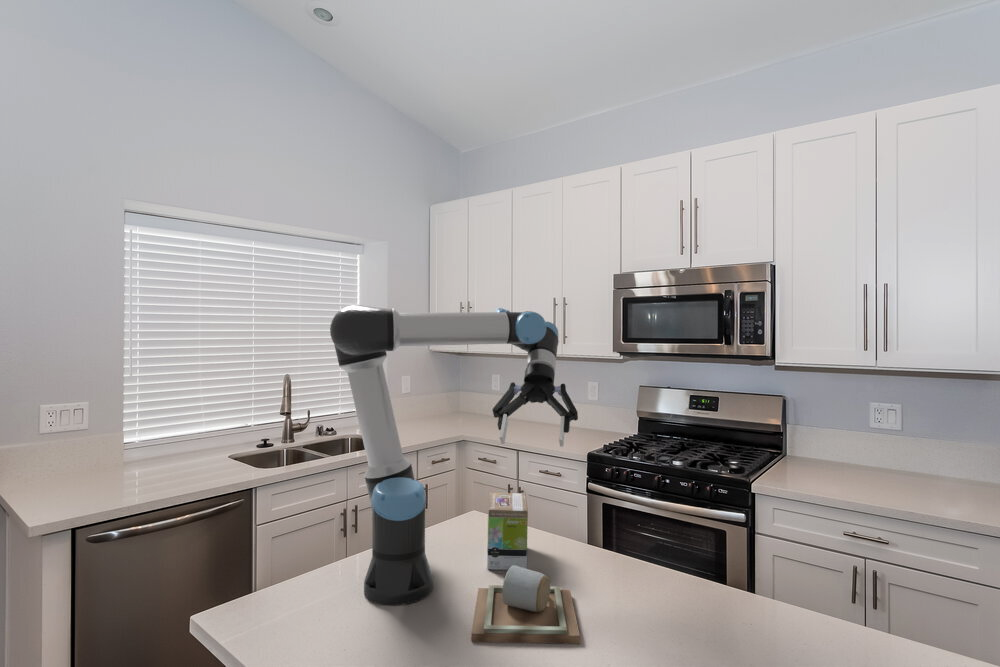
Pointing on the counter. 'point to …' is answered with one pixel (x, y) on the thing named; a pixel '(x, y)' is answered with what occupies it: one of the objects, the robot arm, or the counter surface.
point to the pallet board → (524, 619)
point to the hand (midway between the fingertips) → (531, 441)
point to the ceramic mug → (526, 589)
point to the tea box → (507, 531)
